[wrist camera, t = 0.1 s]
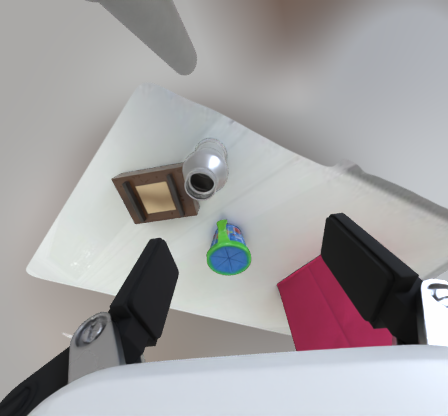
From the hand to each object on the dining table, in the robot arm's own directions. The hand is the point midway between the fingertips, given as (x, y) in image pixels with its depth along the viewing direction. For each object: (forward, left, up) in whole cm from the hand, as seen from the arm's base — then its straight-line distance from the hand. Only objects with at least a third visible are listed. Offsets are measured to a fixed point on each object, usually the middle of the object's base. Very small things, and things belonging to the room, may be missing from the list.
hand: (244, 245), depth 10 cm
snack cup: (+23, -4, -31) cm, 38 cm away
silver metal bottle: (0, -4, -31) cm, 31 cm away
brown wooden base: (+7, -18, -30) cm, 36 cm away
